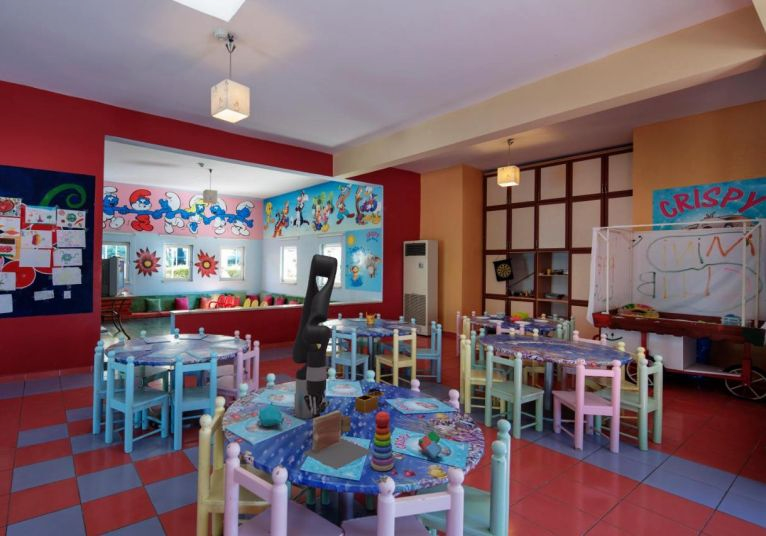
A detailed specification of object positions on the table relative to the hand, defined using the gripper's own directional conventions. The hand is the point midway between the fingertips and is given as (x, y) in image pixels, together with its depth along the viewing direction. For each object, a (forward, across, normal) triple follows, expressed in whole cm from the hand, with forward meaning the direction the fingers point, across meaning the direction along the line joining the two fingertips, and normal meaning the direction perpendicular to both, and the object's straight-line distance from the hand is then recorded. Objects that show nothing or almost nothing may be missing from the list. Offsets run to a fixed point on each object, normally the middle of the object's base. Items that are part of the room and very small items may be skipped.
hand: (316, 422), depth 157 cm
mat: (+8, -12, 0) cm, 15 cm away
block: (+8, +1, -15) cm, 17 cm away
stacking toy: (+8, -30, -4) cm, 32 cm away
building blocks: (+8, -37, -24) cm, 45 cm away
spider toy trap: (+8, +12, -43) cm, 45 cm away
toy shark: (+8, +27, +2) cm, 28 cm away
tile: (+8, -6, 0) cm, 10 cm away
